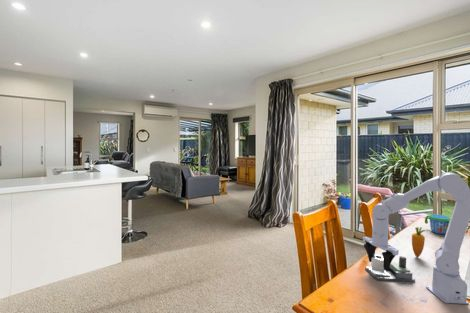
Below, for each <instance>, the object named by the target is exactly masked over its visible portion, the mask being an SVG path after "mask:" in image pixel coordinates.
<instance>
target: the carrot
mask: <svg viewBox="0 0 470 313" xmlns="http://www.w3.org/2000/svg"><path fill="white" fill-rule="evenodd" d="M422 229H423V228H422V226H421V227H418V226H417V227H415V232H416V233H412V234H411V246H412V251H413V253H414V256H415V257H416V258H419V257H420V256H421V255H422V253H423V251H424V247H425V241H426V239H425V236H424V235H423V234H422V233H423V232H426V230H425V229H423V230H422Z"/></svg>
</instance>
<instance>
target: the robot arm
mask: <svg viewBox="0 0 470 313" xmlns="http://www.w3.org/2000/svg"><path fill="white" fill-rule="evenodd" d="M441 190H443V191H445V192H446V193H447V194H449V195H450V196H451V197H452V198H453V199H454V201H455V203H454V207H453V210H452V214H451V216H450V218H451V219H450V222H449V225H448V229H447V232H446V234H444V235H445V236H444V238H443V241H442V243H441V245H440V247H439V248H437V249H436V251H435V252H434V257H435V264H433V266H432V279H431V280H432V283H431V285H425V288H426V289H427V290H429V291H430V292H431V293H432V294H434V295H435V296H436V297H437V298H439V299H440V300H441V301H442V302H444V303H446V304H461V305H469V303H470V302H469V301H468V300H467V298H468V297H467V295H468V284H467V283H466V281H465V280H464V279H462V277H461V275H460V264H459V258H460V254H461V252H460V251H461V248H462V244H463V242H464V238H465V236H466V235H465V234H467V229H468V226H469V223H470V186H469V184H468V183H467V182H466V181H465V180H464V179H463V178H462V177H461V176H460V175H459V174H457V173H456V172H451V171H446V172H443V173H442V174H440V175H436V176H434V177H432V178H430V179H427V180H425V181H424V182H422V183H420V184H419V185H417V186H415V187H413V188H412V189H410V190H408V191H407V192H405V193H401V192H397V193H394V192H393V193H392V194H391V196H390V197H388V198H386V199H382V200H380V202H378V203H376V204H375V205H374V207H373V208H372V211H371V212H372V215H373V216H372V230H371V232H372V234H371V237H369V236H363V237H362V243H363V247H364V249H365V251H366V254H367V257H368V262H369V263H372V256H373V254H376V249H377V248H378V249H381V250H383V251H382V252H381V256H383V261H384V264H383V267H384V269H385V270H386V269H389V266H390V264H391V263H393V262H392V261H393V260H394V258H395V257H396V256H398V255H399V253H400V252H399V249H397V248H396V247H393V246H392V245H390V244H389V230H390V229H389V228H390V223H389V216H390V215H391V214H395V213H398V212H399V211H401V210H403V209H405V208H407V207H409V205H410V202H411V201H413V200H415V199H416V198H419V197H421V196H424V195H425V194H427V193H430V192H441Z"/></svg>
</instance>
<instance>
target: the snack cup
mask: <svg viewBox="0 0 470 313" xmlns="http://www.w3.org/2000/svg"><path fill="white" fill-rule="evenodd" d="M428 219H429V221H428ZM450 219H451V216H447V215H442V214H435V213H431V214H428V215H426V216H425V218H424V224H428V223H429V227H430V231H431V232H432V233H434V232H435V234H438V233H439V234H438V235H446V232H447V229H448V225H449V222H450Z"/></svg>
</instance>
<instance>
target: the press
mask: <svg viewBox="0 0 470 313" xmlns="http://www.w3.org/2000/svg"><path fill="white" fill-rule="evenodd" d="M364 269H365V270H366V271H367V272H368V273H369V275H370V276H371V277H372V278H373V279H374V280H375V281H380V282H383V281H384V282H404V283H416V279H415V278H414V277H413V272H411V271H410V272H394V271H393V270H392V269H391V268H390V266H389V269H386V270H385V271H384V273H382V272H379V271H375V270H371V266H365V267H364Z"/></svg>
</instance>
